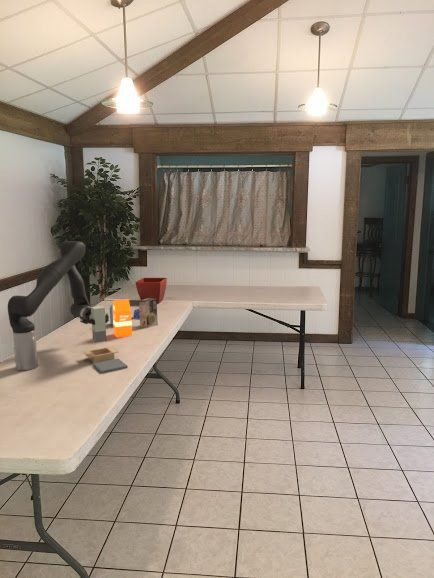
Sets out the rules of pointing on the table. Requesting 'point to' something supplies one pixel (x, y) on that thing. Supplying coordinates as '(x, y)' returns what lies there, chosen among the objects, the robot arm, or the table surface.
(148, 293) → the plant pot
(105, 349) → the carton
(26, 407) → the table surface
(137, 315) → the pudding
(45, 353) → the table surface
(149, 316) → the coffee box
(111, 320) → the data package
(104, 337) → the box
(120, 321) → the orange juice
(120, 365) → the slate mat
